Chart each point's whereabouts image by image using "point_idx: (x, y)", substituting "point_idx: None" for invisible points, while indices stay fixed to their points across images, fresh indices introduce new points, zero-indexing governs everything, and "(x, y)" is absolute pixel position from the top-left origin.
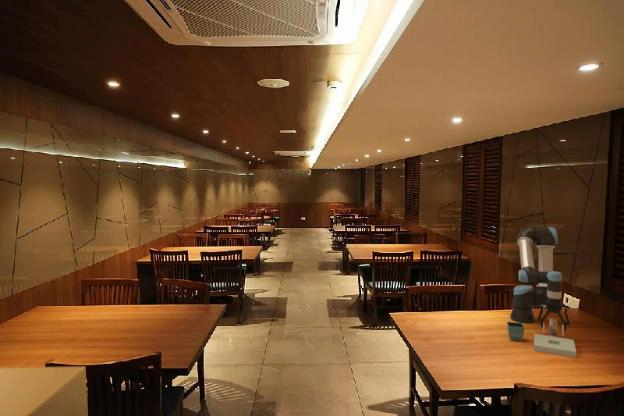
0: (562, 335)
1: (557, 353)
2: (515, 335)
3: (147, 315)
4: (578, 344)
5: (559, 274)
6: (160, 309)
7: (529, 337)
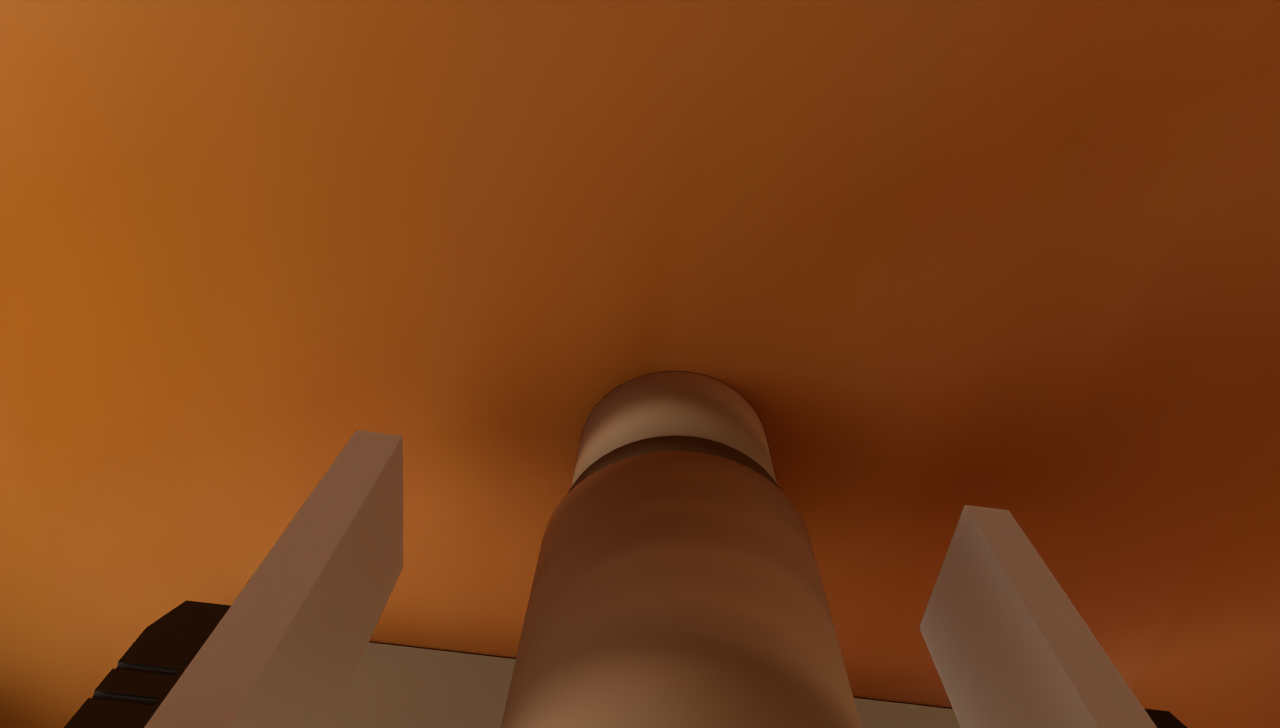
0: (937, 644)
1: None
2: None
3: None
4: (1197, 672)
5: None
6: None
7: (92, 574)
